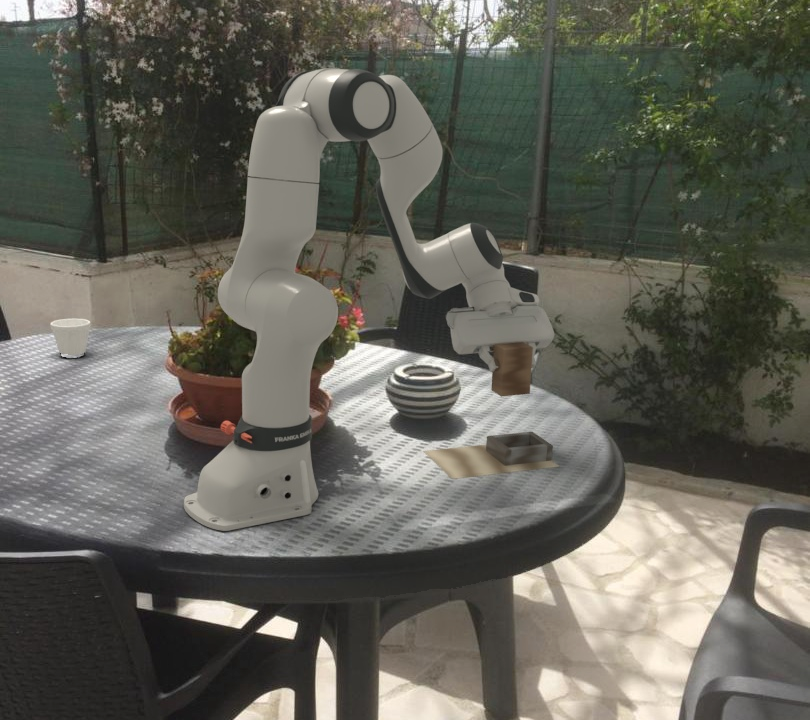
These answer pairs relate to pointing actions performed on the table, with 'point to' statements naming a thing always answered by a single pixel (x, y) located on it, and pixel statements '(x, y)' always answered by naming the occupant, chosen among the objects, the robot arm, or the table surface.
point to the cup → (71, 335)
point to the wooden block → (512, 369)
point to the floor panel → (495, 456)
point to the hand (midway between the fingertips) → (513, 368)
